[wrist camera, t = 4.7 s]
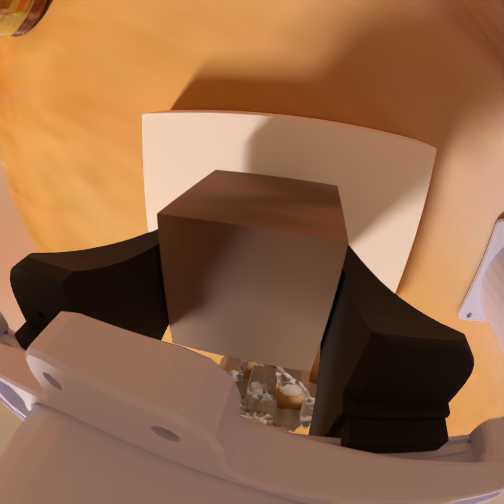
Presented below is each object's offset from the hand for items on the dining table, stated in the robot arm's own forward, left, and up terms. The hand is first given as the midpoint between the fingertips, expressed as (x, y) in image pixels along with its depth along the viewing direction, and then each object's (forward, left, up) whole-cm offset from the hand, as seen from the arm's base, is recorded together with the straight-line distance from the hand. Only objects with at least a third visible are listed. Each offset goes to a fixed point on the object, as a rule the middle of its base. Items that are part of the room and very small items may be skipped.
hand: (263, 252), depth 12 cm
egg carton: (-2, +17, -6) cm, 18 cm away
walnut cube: (0, 0, -2) cm, 2 cm away
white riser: (0, +1, -6) cm, 6 cm away
